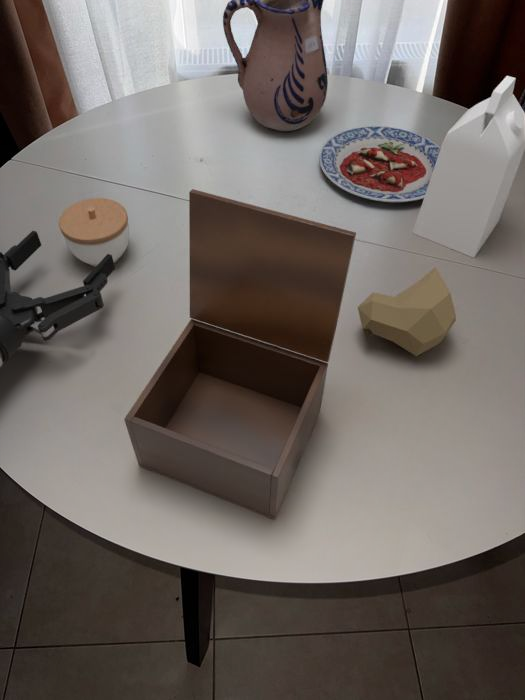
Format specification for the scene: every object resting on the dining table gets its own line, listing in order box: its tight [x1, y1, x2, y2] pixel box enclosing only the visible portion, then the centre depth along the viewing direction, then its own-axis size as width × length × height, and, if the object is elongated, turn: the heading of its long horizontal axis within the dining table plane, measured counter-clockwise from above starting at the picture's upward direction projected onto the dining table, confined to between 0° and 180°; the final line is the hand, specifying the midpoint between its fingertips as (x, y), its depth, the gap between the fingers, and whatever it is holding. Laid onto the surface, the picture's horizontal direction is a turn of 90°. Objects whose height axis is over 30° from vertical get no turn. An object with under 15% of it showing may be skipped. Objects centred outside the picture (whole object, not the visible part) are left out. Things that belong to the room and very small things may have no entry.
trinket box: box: [58, 197, 130, 268], centre depth 95 cm, size 11×11×9 cm
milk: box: [412, 75, 525, 259], centre depth 94 cm, size 12×12×26 cm
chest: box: [123, 318, 329, 521], centre depth 72 cm, size 17×19×11 cm
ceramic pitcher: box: [222, 0, 329, 132], centre depth 117 cm, size 18×21×25 cm
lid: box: [188, 188, 357, 363], centre depth 66 cm, size 17×19×1 cm
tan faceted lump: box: [357, 266, 457, 357], centre depth 84 cm, size 15×11×12 cm
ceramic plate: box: [319, 126, 441, 203], centre depth 114 cm, size 26×26×3 cm
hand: (73, 249), depth 90 cm, fingers open, 13 cm apart
